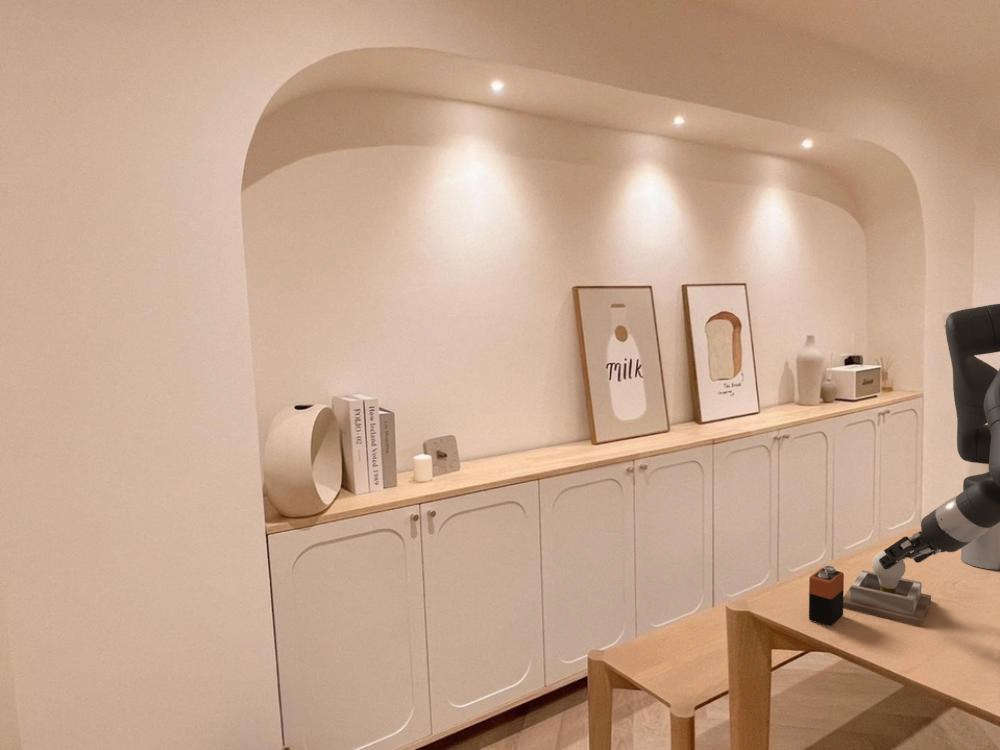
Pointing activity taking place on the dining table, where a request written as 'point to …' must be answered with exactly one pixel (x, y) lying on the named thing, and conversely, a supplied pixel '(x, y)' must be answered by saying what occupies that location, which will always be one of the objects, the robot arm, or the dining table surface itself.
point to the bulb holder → (888, 599)
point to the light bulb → (888, 573)
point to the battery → (826, 595)
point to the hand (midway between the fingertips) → (898, 561)
